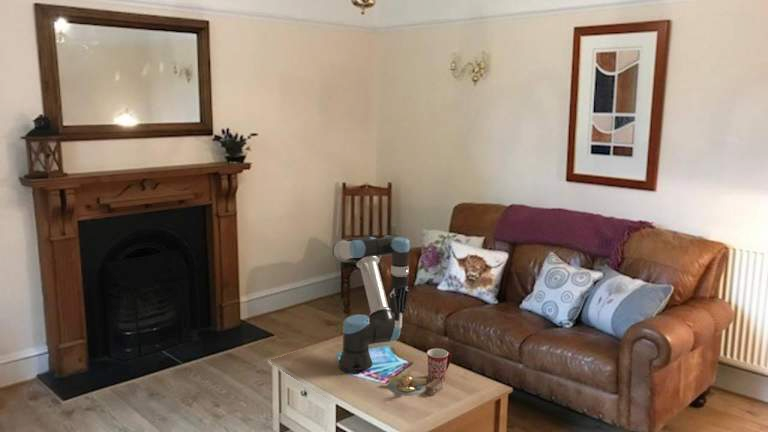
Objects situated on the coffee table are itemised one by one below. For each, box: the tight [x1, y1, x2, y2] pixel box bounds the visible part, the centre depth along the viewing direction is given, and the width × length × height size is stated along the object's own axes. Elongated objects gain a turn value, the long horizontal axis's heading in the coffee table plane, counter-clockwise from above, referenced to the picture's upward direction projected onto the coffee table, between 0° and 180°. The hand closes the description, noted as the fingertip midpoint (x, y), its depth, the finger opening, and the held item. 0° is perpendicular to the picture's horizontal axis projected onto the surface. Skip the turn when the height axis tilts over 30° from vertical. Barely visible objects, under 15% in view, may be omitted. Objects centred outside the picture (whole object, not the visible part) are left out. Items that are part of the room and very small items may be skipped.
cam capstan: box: [387, 369, 427, 393], centre depth 268 cm, size 16×16×7 cm
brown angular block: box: [425, 379, 443, 397], centre depth 265 cm, size 4×8×5 cm, turn 142°
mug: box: [426, 348, 452, 383], centre depth 277 cm, size 13×9×14 cm
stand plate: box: [387, 381, 426, 397], centre depth 269 cm, size 16×16×2 cm
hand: (398, 326), depth 273 cm, fingers closed
